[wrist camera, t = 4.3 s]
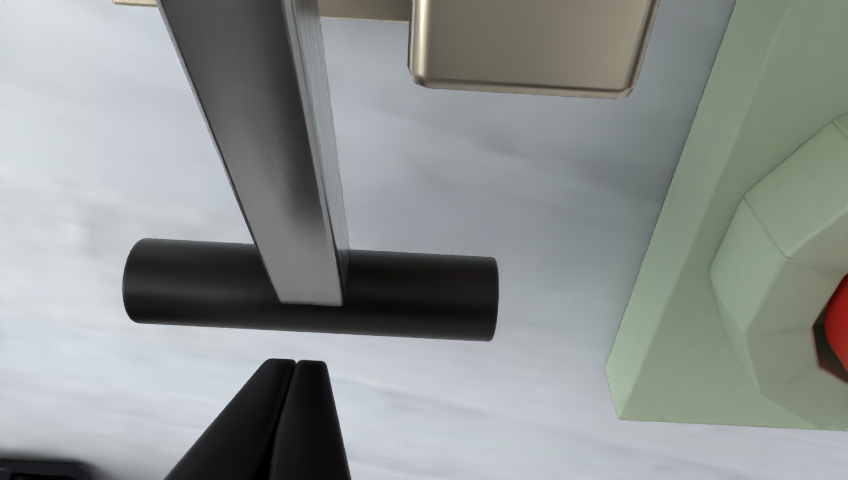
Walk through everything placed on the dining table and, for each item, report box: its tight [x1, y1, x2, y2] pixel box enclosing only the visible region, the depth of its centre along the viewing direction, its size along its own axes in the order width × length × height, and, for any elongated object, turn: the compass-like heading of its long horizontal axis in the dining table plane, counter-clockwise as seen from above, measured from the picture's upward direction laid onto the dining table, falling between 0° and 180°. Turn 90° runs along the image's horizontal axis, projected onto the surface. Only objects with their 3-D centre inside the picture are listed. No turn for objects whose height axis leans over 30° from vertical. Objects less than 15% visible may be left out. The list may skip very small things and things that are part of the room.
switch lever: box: [122, 0, 499, 342], centre depth 6 cm, size 11×6×2 cm, turn 177°
